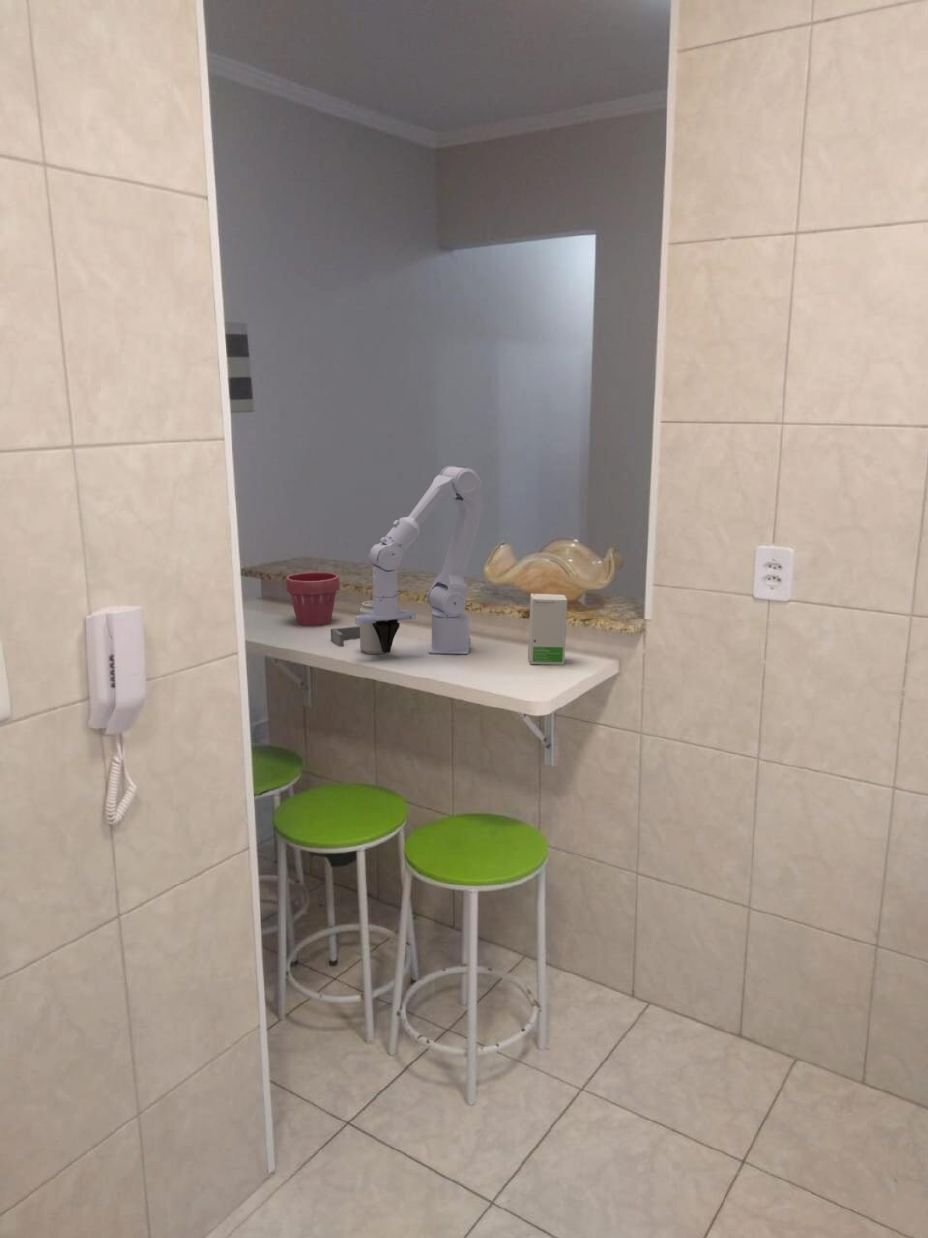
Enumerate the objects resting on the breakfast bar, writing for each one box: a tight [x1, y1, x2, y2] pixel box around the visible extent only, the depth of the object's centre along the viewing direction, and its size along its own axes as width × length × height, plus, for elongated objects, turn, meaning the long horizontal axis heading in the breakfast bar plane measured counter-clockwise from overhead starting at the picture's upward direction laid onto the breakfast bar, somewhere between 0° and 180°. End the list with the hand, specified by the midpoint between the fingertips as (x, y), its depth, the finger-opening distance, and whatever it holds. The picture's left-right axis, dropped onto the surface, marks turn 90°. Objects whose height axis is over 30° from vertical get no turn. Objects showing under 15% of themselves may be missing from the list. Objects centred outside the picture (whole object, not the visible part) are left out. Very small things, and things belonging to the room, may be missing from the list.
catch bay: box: [330, 625, 360, 647], centre depth 238 cm, size 6×13×3 cm, turn 117°
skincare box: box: [527, 593, 568, 666], centre depth 220 cm, size 8×7×16 cm
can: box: [358, 600, 385, 655], centre depth 228 cm, size 8×8×12 cm
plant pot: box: [285, 571, 340, 627], centre depth 256 cm, size 14×14×13 cm
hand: (386, 651), depth 223 cm, fingers closed
